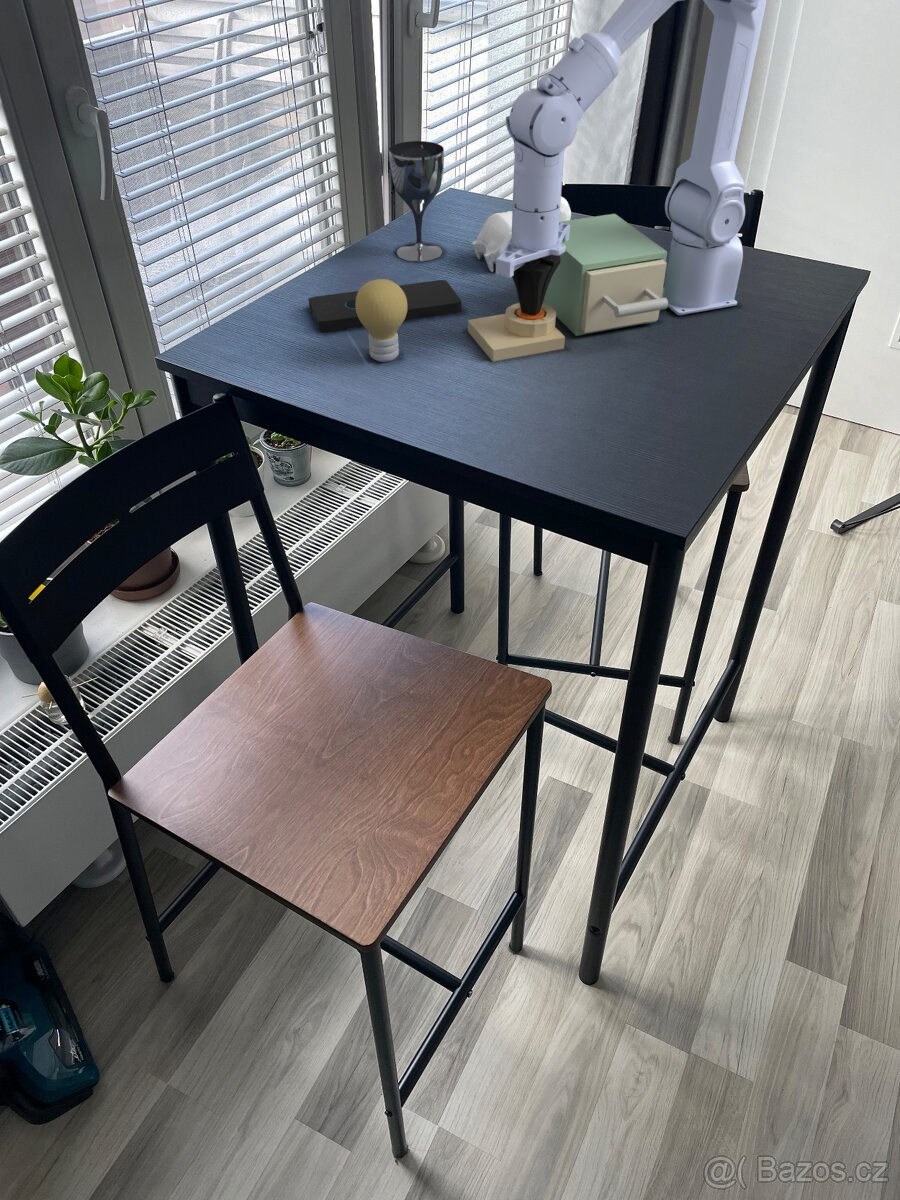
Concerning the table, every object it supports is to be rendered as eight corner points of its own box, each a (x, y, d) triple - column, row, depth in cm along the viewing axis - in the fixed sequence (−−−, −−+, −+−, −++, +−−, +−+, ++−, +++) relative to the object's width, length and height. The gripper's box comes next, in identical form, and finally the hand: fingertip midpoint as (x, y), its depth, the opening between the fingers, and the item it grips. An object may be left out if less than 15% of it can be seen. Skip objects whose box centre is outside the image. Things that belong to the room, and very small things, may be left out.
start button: (536, 316, 122) (537, 304, 120) (548, 328, 119) (549, 315, 118) (511, 321, 121) (512, 308, 120) (522, 332, 118) (523, 320, 117)
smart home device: (307, 296, 127) (445, 277, 131) (308, 307, 128) (445, 289, 133) (318, 321, 121) (462, 301, 126) (320, 333, 122) (462, 313, 127)
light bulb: (371, 374, 114) (366, 296, 108) (351, 352, 118) (345, 277, 112) (417, 362, 116) (415, 286, 110) (396, 341, 121) (393, 267, 114)
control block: (537, 319, 125) (539, 295, 123) (566, 348, 119) (568, 323, 117) (467, 331, 123) (467, 306, 120) (492, 362, 116) (493, 336, 114)
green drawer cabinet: (656, 322, 124) (667, 251, 118) (575, 336, 121) (582, 265, 115) (607, 280, 135) (614, 213, 128) (531, 292, 132) (535, 224, 125)
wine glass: (392, 243, 145) (388, 141, 135) (442, 241, 146) (441, 140, 136) (394, 263, 140) (390, 158, 130) (446, 261, 140) (446, 156, 130)
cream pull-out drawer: (676, 335, 120) (686, 276, 114) (600, 349, 117) (607, 289, 112) (611, 281, 132) (618, 226, 127) (542, 292, 130) (545, 236, 124)
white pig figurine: (501, 293, 138) (588, 244, 138) (483, 244, 132) (573, 192, 132) (480, 272, 144) (563, 224, 144) (462, 224, 138) (548, 174, 138)
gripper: (534, 229, 104) (528, 341, 113) (594, 193, 112) (584, 299, 121) (482, 217, 107) (480, 327, 116) (545, 182, 115) (538, 287, 124)
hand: (530, 312), depth 119 cm, fingers closed, pressing on start button
